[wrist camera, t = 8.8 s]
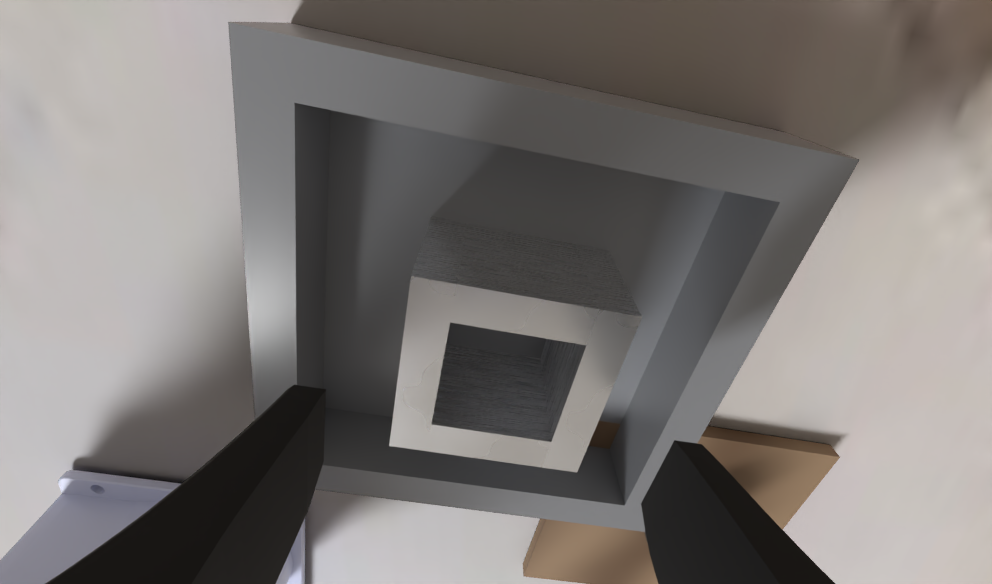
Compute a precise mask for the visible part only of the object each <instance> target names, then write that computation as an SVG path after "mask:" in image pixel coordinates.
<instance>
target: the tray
mask: <svg viewBox="0 0 992 584" xmlns="http://www.w3.org/2000/svg"><path fill="white" fill-rule="evenodd" d="M228 24H229V39H230V54H231V69H232V83H233V98H234V113H235V128H236V143H237V158H238V173H239V188H240V203H241V218H242V233H243V247H244V262H245V277H246V292H247V307H248V322H249V337H250V352H251V367H252V382H253V397H254V411H255V420H256V419H257V418H258V417H259V416H260V415H261V414H262V413H263V412H264V411H265V410H266V409H267V408H268V407H269V406H271V405H272V404H273V403H274V402H275V401H276V400H277V399H278V398H279V397H280V396H281V395H282V394H283V393H284V392H285V391H286V390H287V389H288V388H290V387H291V386H293V385H300V386H307V387H314V388H321V389H326V405H325V435H324V462H323V465H322V468H321V472H320V475H319V478H318V481H317V484H316V487H315V489H316V490H324V491H332V492H340V493H347V494H355V495H363V496H371V497H378V498H386V499H394V500H402V501H409V502H417V503H425V504H433V505H440V506H448V507H456V508H463V509H471V510H479V511H487V512H494V513H502V514H510V515H518V516H525V517H533V518H541V519H549V520H556V521H564V522H572V523H580V524H587V525H595V526H603V527H611V528H618V529H626V530H634V531H641V532H645V526H644V519H643V513H642V507H641V503H642V501H643V499H644V497H645V495H646V493H647V491H648V489H649V487H650V486H651V484H652V482H653V480H654V478H655V476H656V474H657V472H658V470H659V469H660V467H661V465H662V463H663V461H664V459H665V457H666V455H667V453H668V452H669V450H670V448H671V446H672V444H673V442H674V440H676V441H683V442H690V443H698V441H699V440H700V438H701V436H702V434H703V433H704V431H705V429H706V427H707V426H708V424H709V422H710V420H711V419H712V417H713V415H714V413H715V412H716V410H717V408H718V406H719V405H720V403H721V401H722V399H723V398H724V396H725V394H726V392H727V391H728V389H729V387H730V385H731V384H732V382H733V380H734V378H735V377H736V375H737V373H738V371H739V370H740V368H741V366H742V364H743V363H744V361H745V359H746V357H747V356H748V354H749V352H750V350H751V349H752V347H753V345H754V343H755V342H756V340H757V338H758V336H759V335H760V333H761V331H762V329H763V328H764V326H765V324H766V322H767V321H768V319H769V317H770V315H771V314H772V312H773V310H774V308H775V307H776V305H777V303H778V301H779V300H780V298H781V296H782V294H783V293H784V291H785V289H786V288H787V286H788V284H789V282H790V281H791V279H792V277H793V275H794V274H795V272H796V270H797V268H798V267H799V265H800V263H801V261H802V260H803V258H804V256H805V254H806V253H807V251H808V249H809V247H810V246H811V244H812V242H813V240H814V239H815V237H816V235H817V233H818V232H819V230H820V228H821V226H822V225H823V223H824V221H825V219H826V218H827V216H828V214H829V212H830V211H831V209H832V207H833V205H834V204H835V202H836V200H837V198H838V197H839V195H840V193H841V191H842V190H843V188H844V186H845V184H846V183H847V181H848V179H849V177H850V176H851V174H852V172H853V170H854V169H855V167H856V165H857V163H858V162H859V159H856V158H853V157H850V156H848V155H845V154H842V153H840V152H837V151H834V150H832V149H829V148H826V147H823V146H821V145H818V144H815V143H813V142H810V141H807V140H804V139H802V138H799V137H796V136H794V135H791V134H788V133H786V132H782V131H777V130H772V129H768V128H763V127H759V126H754V125H750V124H745V123H741V122H736V121H732V120H727V119H723V118H718V117H714V116H709V115H705V114H700V113H696V112H691V111H686V110H682V109H677V108H673V107H668V106H664V105H659V104H655V103H650V102H646V101H641V100H637V99H632V98H628V97H623V96H619V95H614V94H610V93H605V92H600V91H596V90H591V89H587V88H582V87H578V86H573V85H569V84H564V83H560V82H555V81H551V80H546V79H542V78H537V77H533V76H528V75H524V74H519V73H514V72H510V71H505V70H501V69H496V68H492V67H487V66H483V65H478V64H474V63H469V62H465V61H460V60H456V59H451V58H447V57H442V56H438V55H433V54H428V53H424V52H419V51H415V50H410V49H406V48H401V47H397V46H392V45H388V44H383V43H379V42H374V41H370V40H365V39H361V38H356V37H352V36H347V35H342V34H338V33H333V32H329V31H324V30H320V29H315V28H311V27H306V26H302V25H297V24H293V23H267V22H228ZM431 217H435V218H441V219H446V220H451V221H456V222H462V223H467V224H472V225H477V226H483V227H488V228H493V229H498V230H504V231H509V232H514V233H519V234H525V235H530V236H535V237H541V238H546V239H551V240H556V241H562V242H567V243H572V244H577V245H583V246H588V247H593V248H598V249H604V250H609V252H610V254H611V256H612V258H613V260H614V262H615V264H616V265H617V267H618V269H619V271H620V273H621V275H622V277H623V279H624V281H625V283H626V285H627V287H628V289H629V291H630V293H631V295H632V297H633V299H634V301H635V303H636V305H637V307H638V309H639V311H640V313H641V315H642V319H641V321H640V324H639V326H638V328H637V331H636V333H635V336H634V338H633V340H632V343H631V345H630V348H629V350H628V352H627V355H626V357H625V359H624V362H623V364H622V367H621V369H620V371H619V374H618V376H617V379H616V381H615V383H614V386H613V388H612V390H611V393H610V395H609V398H608V400H607V402H606V405H605V407H604V410H603V412H602V414H601V417H600V419H599V421H604V422H611V423H618V424H621V425H620V427H619V429H618V431H617V433H616V435H615V438H614V440H613V442H612V445H611V447H610V449H606V448H600V447H593V446H589V445H588V448H587V450H586V453H585V455H584V457H583V460H582V462H581V464H580V467H579V469H578V472H570V471H563V470H556V469H549V468H542V467H535V466H528V465H521V464H514V463H506V462H499V461H492V460H485V459H478V458H471V457H464V456H457V455H450V454H443V453H436V452H429V451H422V450H415V449H408V448H400V447H393V446H389V443H390V435H391V427H392V419H393V412H394V404H395V396H396V388H397V381H398V373H399V365H400V357H401V350H402V342H403V334H404V326H405V319H406V311H407V303H408V295H409V287H410V280H411V274H412V272H413V269H414V266H415V263H416V260H417V257H418V254H419V251H420V248H421V245H422V242H423V239H424V236H425V233H426V230H427V228H428V225H429V222H430V219H431ZM545 342H546V338H540V337H534V336H528V335H522V334H516V333H510V332H504V331H498V330H492V329H486V328H480V327H474V326H469V325H463V324H457V323H451V322H450V326H449V332H448V337H447V342H446V343H448V344H454V345H460V346H466V347H472V348H478V349H485V350H491V351H497V352H503V353H509V354H515V355H521V356H527V357H533V358H539V359H540V358H541V355H542V352H543V349H544V345H545ZM611 426H612V425H611ZM614 430H615V429H614ZM604 432H605V431H604ZM607 432H608V431H607ZM614 432H615V431H614ZM607 438H608V437H607ZM607 441H608V440H607ZM590 443H591V442H590ZM598 443H599V442H598ZM601 444H602V443H601Z"/></svg>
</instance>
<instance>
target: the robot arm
mask: <svg viewBox="0 0 992 584" xmlns="http://www.w3.org/2000/svg"><path fill="white" fill-rule="evenodd" d="M325 405H326V389H321V388H314V387H307V386H300V385H293V386H291V387H290V388H288V389H287V390H286V391H285V392H284V393H283V394H282V395H281V396H280V397H279V398H278V399H277V400H276V401H275V402H274V403H273V404H272V405H271V406H269V407H268V408H267V409H266V410H265V411H264V412H263V413H262V414H261V415H260V416H259V417H258V418H257V419H256V420H255V421H254V422H252V423H251V424H250V425H249V426H248V427H247V428H246V429H245V430H244V431H243V432H242V433H240V434H239V435H238V436H237V437H236V438H235V439H234V440H233V441H231V442H230V443H229V444H228V445H227V446H226V447H224V448H223V449H222V450H221V451H220V452H219V453H218V454H216V455H215V456H214V457H213V458H212V459H211V460H210V461H208V462H207V463H206V464H205V465H204V466H203V467H201V468H200V469H199V470H198V471H197V472H195V473H194V474H193V475H192V476H191V477H189V478H188V479H187V480H186V481H184V482H183V483H182V484H181V483H173V482H165V481H157V480H149V479H141V478H133V477H126V476H118V475H110V474H102V473H94V472H86V471H78V470H70V471H67V472H65V473H64V475H63V476H62V477H61V478H60V479H59V480H58V484H59V487H60V489H61V492H62V494H61V495H60V497H59V498H58V499H57V500H56V501H55V502H54V503H53V504H52V505H51V506H50V507H49V508H48V510H47V511H46V512H45V513H44V514H43V515H42V516H41V517H40V518H39V519H38V520H37V521H36V522H35V524H34V525H33V526H32V527H31V528H30V529H29V530H28V531H27V532H26V533H25V534H24V535H23V536H22V538H21V539H20V540H19V541H18V542H17V543H16V544H15V545H14V546H13V547H12V548H11V549H10V550H9V552H8V553H7V554H6V555H5V556H4V557H3V558H2V559H1V560H0V584H305V516H306V514H307V511H308V508H309V505H310V502H311V499H312V496H313V493H314V490H315V487H316V484H317V481H318V478H319V475H320V472H321V468H322V465H323V462H324V435H325ZM641 507H642V513H643V519H644V526H645V532H646V537H647V542H648V548H649V553H650V557H651V560H652V564H653V568H654V571H655V574H656V578H657V581H658V584H835V583H834V582H833V581H832V580H831V579H830V578H829V577H828V576H827V575H826V574H825V573H824V572H823V571H822V570H821V569H820V568H819V567H818V566H817V565H816V564H815V563H814V562H813V561H812V560H811V559H810V558H809V557H808V556H807V555H806V554H805V553H804V552H803V551H802V550H801V549H800V548H799V547H798V546H797V545H796V544H795V543H794V541H793V540H792V539H791V538H790V537H789V536H788V535H787V534H786V533H785V532H784V531H783V530H782V529H781V528H780V527H779V526H778V525H777V524H776V522H775V521H774V520H773V519H772V518H771V517H770V516H769V515H768V514H767V513H766V512H765V511H764V510H763V509H762V507H761V506H760V505H759V504H758V503H757V502H756V501H755V500H754V499H753V498H752V497H751V496H750V494H749V493H748V492H747V491H746V490H745V489H744V488H743V487H742V486H741V485H740V484H739V483H738V481H737V480H736V479H735V478H734V477H733V476H732V475H731V474H730V473H729V472H728V471H727V470H726V469H725V467H724V466H723V465H722V464H721V463H720V462H719V461H718V460H717V459H716V458H715V457H714V456H713V455H712V454H711V453H710V452H709V451H708V450H707V449H706V448H705V447H704V446H703V445H702V444H697V443H690V442H683V441H676V440H674V442H673V444H672V446H671V448H670V450H669V452H668V453H667V455H666V457H665V459H664V461H663V463H662V465H661V467H660V469H659V470H658V472H657V474H656V476H655V478H654V480H653V482H652V484H651V486H650V487H649V489H648V491H647V493H646V495H645V497H644V499H643V501H642V503H641Z"/></svg>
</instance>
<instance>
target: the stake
mask: <svg viewBox="0 0 992 584" xmlns="http://www.w3.org/2000/svg"><path fill="white" fill-rule="evenodd" d="M611 425H612V426H611ZM620 425H621V424H618V423H611V422H604V421H599V422H598V424H597V426H596V429H595V431H594V433H593V436H592V438H591V441H590V442H591V443H589V446H593V447H600V448H606V449H610V447H611V445H612V442H613V440H614V438H615V435H616V433H617V431H618V429H619V427H620ZM614 429H615V430H614ZM604 431H605V432H604ZM607 431H608V432H607ZM614 431H615V432H614ZM607 437H608V438H607ZM607 440H608V441H607ZM598 442H599V443H598ZM601 443H602V444H601ZM697 444H702V445H703V446H704V447H705V448H706V449H707V450H708V451H709V452H710V453H711V454H712V455H713V456H714V457H715V458H716V459H717V460H718V461H719V462H720V463H721V464H722V465H723V466H724V467H725V469H726V470H727V471H728V472H729V473H730V474H731V475H732V476H733V477H734V478H735V479H736V480H737V481H738V483H739V484H740V485H741V486H742V487H743V488H744V489H745V490H746V491H747V492H748V493H749V494H750V496H751V497H752V498H753V499H754V500H755V501H756V502H757V503H758V504H759V505H760V506H761V507H762V509H763V510H764V511H765V512H766V513H767V514H768V515H769V516H770V517H771V518H772V519H773V520H774V521H775V522H776V524H777V525H778V526H779V527H780V528H781V529H783V528H784V527H785V526H786V524H787V523H788V522H789V521H790V519H791V518H792V517H793V516H794V514H795V513H796V512H797V511H798V509H799V508H800V507H801V505H802V504H803V503H804V502H805V500H806V499H807V498H808V497H809V495H810V494H811V493H812V492H813V490H814V489H815V488H816V487H817V485H818V484H819V483H820V482H821V480H822V479H823V478H824V477H825V475H826V474H827V473H828V472H829V470H830V469H831V468H832V466H833V465H834V464H835V463H836V461H837V460H838V459H839V458H840V457H839V455H838V454H837V453H836V452H835V450H834V449H833V448H832V447H831V445H827V444H821V443H814V442H808V441H801V440H795V439H788V438H782V437H775V436H769V435H762V434H756V433H749V432H743V431H736V430H730V429H723V428H717V427H710V426H707V427H706V429H705V431H704V433H703V434H702V436H701V438H700V440H699V441H698V443H697ZM523 573H524V576H526V577H534V578H543V579H551V580H560V581H569V582H577V583H586V584H658V581H657V578H656V574H655V571H654V568H653V564H652V560H651V557H650V553H649V548H648V542H647V537H646V532H641V531H634V530H626V529H618V528H611V527H603V526H595V525H587V524H580V523H572V522H564V521H556V520H549V519H541V518H540V521H539V523H538V526H537V528H536V531H535V534H534V536H533V539H532V541H531V544H530V547H529V549H528V552H527V554H526V557H525V559H524V562H523Z"/></svg>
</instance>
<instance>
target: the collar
mask: <svg viewBox="0 0 992 584" xmlns="http://www.w3.org/2000/svg"><path fill="white" fill-rule="evenodd" d="M641 319H642V315H641V313H640V311H639V309H638V307H637V305H636V303H635V301H634V299H633V297H632V295H631V293H630V291H629V289H628V287H627V285H626V283H625V281H624V279H623V277H622V275H621V273H620V271H619V269H618V267H617V265H616V264H615V262H614V260H613V258H612V256H611V254H610V252H609V250H604V249H598V248H593V247H588V246H583V245H577V244H572V243H567V242H562V241H556V240H551V239H546V238H541V237H535V236H530V235H525V234H519V233H514V232H509V231H504V230H498V229H493V228H488V227H483V226H477V225H472V224H467V223H462V222H456V221H451V220H446V219H441V218H435V217H431V219H430V222H429V225H428V228H427V230H426V233H425V236H424V239H423V242H422V245H421V248H420V251H419V254H418V257H417V260H416V263H415V266H414V269H413V272H412V274H411V280H410V287H409V295H408V303H407V311H406V319H405V326H404V334H403V342H402V350H401V357H400V365H399V373H398V381H397V388H396V396H395V404H394V412H393V419H392V427H391V435H390V443H389V446H393V447H400V448H408V449H415V450H422V451H429V452H436V453H443V454H450V455H457V456H464V457H471V458H478V459H485V460H492V461H499V462H506V463H514V464H521V465H528V466H535V467H542V468H549V469H556V470H563V471H570V472H578V469H579V467H580V464H581V462H582V460H583V457H584V455H585V453H586V450H587V448H588V445H589V443H590V441H591V438H592V436H593V433H594V431H595V429H596V426H597V424H598V422H599V419H600V417H601V414H602V412H603V410H604V407H605V405H606V402H607V400H608V398H609V395H610V393H611V390H612V388H613V386H614V383H615V381H616V379H617V376H618V374H619V371H620V369H621V367H622V364H623V362H624V359H625V357H626V355H627V352H628V350H629V348H630V345H631V343H632V340H633V338H634V336H635V333H636V331H637V328H638V326H639V324H640V321H641ZM450 322H451V323H457V324H463V325H469V326H474V327H480V328H486V329H492V330H498V331H504V332H510V333H516V334H522V335H528V336H534V337H540V338H546V342H545V345H544V349H543V352H542V355H541V358H540V359H539V358H533V357H527V356H521V355H515V354H509V353H503V352H497V351H491V350H485V349H478V348H472V347H466V346H460V345H454V344H448V343H446V342H447V337H448V332H449V326H450Z"/></svg>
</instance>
